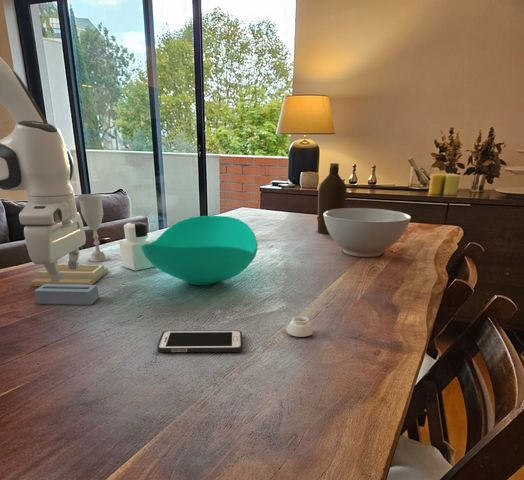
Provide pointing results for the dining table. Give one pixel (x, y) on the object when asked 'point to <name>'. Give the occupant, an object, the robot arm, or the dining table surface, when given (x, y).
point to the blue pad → (66, 294)
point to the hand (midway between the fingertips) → (65, 274)
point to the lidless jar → (299, 327)
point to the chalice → (93, 220)
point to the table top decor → (203, 249)
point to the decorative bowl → (365, 229)
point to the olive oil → (330, 195)
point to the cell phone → (201, 341)
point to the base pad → (73, 275)
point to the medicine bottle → (135, 246)
